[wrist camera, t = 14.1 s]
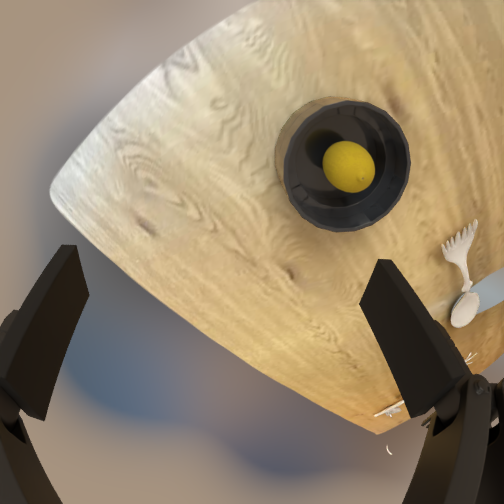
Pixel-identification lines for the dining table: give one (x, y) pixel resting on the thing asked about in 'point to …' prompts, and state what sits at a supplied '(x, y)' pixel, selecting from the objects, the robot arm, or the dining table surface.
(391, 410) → the dried plant stem
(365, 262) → the dining table surface
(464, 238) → the back scratcher
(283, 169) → the black mixing bowl
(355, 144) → the lemon
